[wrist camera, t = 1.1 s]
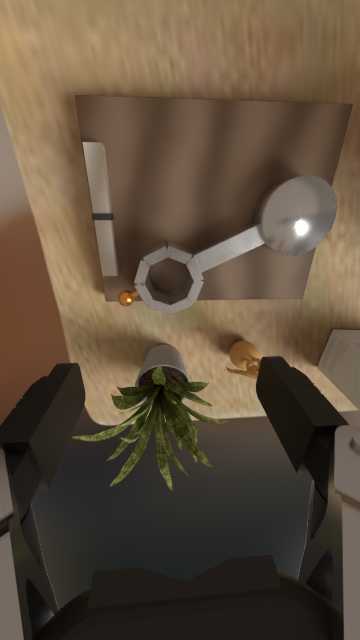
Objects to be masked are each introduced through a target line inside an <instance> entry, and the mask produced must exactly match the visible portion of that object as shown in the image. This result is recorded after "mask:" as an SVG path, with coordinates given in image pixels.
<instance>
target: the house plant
mask: <svg viewBox="0 0 360 640" xmlns="http://www.w3.org/2000/svg"><path fill="white" fill-rule="evenodd" d="M209 383H210V382H209ZM209 383H203V382H190V379H189V376H188V374H187V371H186V368H185V366H184V363H183V361H182V358H181V356H180V353H179V351H178V350H177V349H176V348H175V347H173V346H171V345H168V344H162V345H157V346H154V347H153V348H151V349H150V351H149V352H148V354H147V356H146V359H145V361H144V363H143V366H142V368H141V370H140V373H139V375H138V377H137V380H136V383H135V387H126V388H118V387H117V386H116V387H117V388H118V389H119V391H120V392H121V394H122V395H124V396H113V395H112V394H111V396H112V399H113V402H114V405H115V406H116V407H117V408H119V409H128V408H130V407H133V406H135V405H137V404H138V403H140V402H141V401H142V400H143V401H144V403H143V404H141V405H140V406H138V407H135V408H134V409H132V410H130V411H127V412H131V411H133V410H135V409H137V408H139V407H140V408H139V409H138V410H137V411H136V412H135V413H134V414H133V415H132V416H131V417H130V418H128V419H127V420H126V421H124V422H123V423H121V424H120V425H118V426H116V427H114V428H112V429H109V430H107V431H104V432H102V433H99V434H96V435H92V436H77V437H71V438H74V439H79V440H85V441H99V440H104V439H107V438H110V437H112V436H115V435H116V434H118V433H120V432H121V431H123V430H124V429H126V428H127V427H128V426H129V425H130V424H131V423H132V422H133V421H134V420H135V419H137V420H136V422H135V424H134V425H133V427H132V429H131V430H130V432H129V434H128V435H127V436H126V438H121V439H122V440H123V441H122V443H121V444H120V445H119V447H118V448H117V450H116V451H115V453H114V454H113V455H112V456H111V457H109V458H108V460H107V461H109V460H111V459H113V458H115V457H116V456H118V455H119V454H120V453H121V452H122V451H123V450H124V449H125V447H126V446H127V445H128V443H132V442H134V441H136V440H137V439H138V438H139V437H137V438H135V439H132V438H133V437H134V436H135V435H136V434H137V435H141V437H140V440H139V441H138V443H137V446H136V447H135V449H134V451H133V452H132V454H131V456H130V457H129V459H128V460H127V462H126V463H125V465H124V467H123V468H122V470H121V472H120V474H119V476H118V477H117V478H116V479H115V480H114V481H113V482H112V484H111V486H113V485H114V484H116V483H118V482H120V481H121V480H122V479H123V478H124V477H125V476H127V475H128V474H129V472H130V471H131V470H132V469H133V467H134V466H135V465H136V463H137V462H138V460H139V459H140V457H141V456H142V454H143V452H144V450H145V448H146V446H147V442H148V438H149V436H150V433H151V430H152V427H153V424H154V422H155V428H156V448H157V449H156V450H157V460H158V465H159V469H160V471H161V473H162V475H163V477H164V478H165V480H166V483H167V485H168V487H169V488H170V489H171V490H173V489H172V481H171V475H170V470H169V466H168V460H167V454H168V453H167V450H168V452H169V454H168V455H170V458H171V459H172V460H173V461H174V462H175V463H176V465H177V466H178V467H179V468H180V469H181V470H182V471H183V472H184V473H185V474H187V473H186V471H185V470H184V469H183V467H182V466H181V465H180V463H179V462H178V461H177V459H176V457H175V455H174V454H173V451H172V448H171V445H170V442H169V438H168V435H167V431H166V426H165V419H166V422H167V425H168V427H169V430H170V431H171V432H172V433H173V434H174V435H175V438H176V441H177V443H178V446H179V448H180V449H182V443H181V442H182V441H183V443H184V444H185V446H186V448H187V449H188V450H189V451H190V452H191V453H192V454H193V457H194V459H195V461H196V462H197V458H198V459H199V460H200V461H201V462H203V463H204V464H205V465H207V466H210V467H212V465H211V464H210V462H209V461H208V459H207V458H206V456H205V455H204V454H203V452H202V451H201V449H200V447H199V446H198V444H197V435H196V431H197V430H198V429H199V428H198V427H197V426H196V425H194V424H193V422H192V420H191V418H190V416H189V414H188V413H190V414H191V415H192V416H194V417H195V418H197V419H199V420H201V421H203V422H207V423H215V424H222V423H225V422H227V421H225V420H217V419H213V418H209V417H206V416H203V415H201V414H199V413H197V412H195V411H193V410H191V409H190V408H188V407H187V406H185V405H184V404H183V403H182V401H183V400H184V399H185V398H188V399H190V400H192V401H195V402H197V403H200V404H202V405H207V406H212V405H211V404H209V403H208V402H205V401H203V400H202V399H200V398H199V397H198V396H197V395H195V394H193V393H191V392H199V391H201V390H202V389H204V388H205V387H206V386H207V385H208V384H209ZM189 391H191V392H189ZM151 405H152V408H151V411H150V413H149V415H148V412H149V410H150V407H151ZM127 412H124V413H127ZM120 414H122V413H120ZM147 415H148V417H147ZM164 416H165V419H164ZM146 417H147V419H146ZM145 420H146V421H145ZM143 424H144V425H143ZM141 427H142V428H141ZM137 432H138V433H137ZM181 439H182V441H181ZM212 468H213V467H212ZM187 475H188V474H187ZM188 476H189V475H188Z"/></svg>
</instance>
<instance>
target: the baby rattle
mask: <svg viewBox="0 0 360 640" xmlns="http://www.w3.org/2000/svg"><path fill="white" fill-rule="evenodd" d="M336 211H337V201H336V196H335V193H334V191H333V189H332V187H331V186H330V184H329V183H328V182H326V181H325V180H324V179H322V178H320V177H317V176H313V175H306V176H300V177H296V178H293V179H289V180H285V181H281V182H279V183H277V184H275V185H273V186H272V187H271V188H269V189H268V190H267V191H266V192H265V193H264V195H263V196H262V197H261V199H260V200H259V202H258V204H257V206H256V209H255V212H254V218H253V224H252V225H250V226H248V227H246V228H244V229H242V230H240V231H238V232H235V233H233V234H231V235H229V236H227V237H225V238H223V239H221V240H219V241H217V242H215V243H213V244H211V245H208V246H206V247H204V248H202V249H200V250H198V251H196V252H194V253H192V252H191V251H190V250H189V249H188V248H185V247H183V246H180V245H177V244H175V243H172V242H169V241H168V243H166V241H165V242H163V243H161V244H159V245H157V246H155V247H153V248H151V249H149V250H147V251H146V252H145V253H144V255H143V256H142V258H141V261H140V264H139V268H138V271H137V274H136V278H135V281H134V283H135V288H136V289H137V290H135V291H133V292H131V291H129V290H123V291H121V292H120V293H119V294H118V301H119V303H120V304H121V305H123V306H129V305H131V304H132V303H133V302H134V297H136V296H138V295H140V296H141V298H142V300H143V302H144V303H145V305H146V306H147V305H149V306H148V308H151V309H154V310H158V311H161V312H164V313H167V314H170V312H172V314H174V313H176V312H178V311H181V310H183V309H185V308H187V307H190V306H192V305H193V303H192V302H194V303H195V302H196V299H197V297H198V295H199V292H200V290H201V288H202V285H203V283H204V282H203V279H204V278H203V276H202V274H201V273H202V272H204V271H206V270H208V269H211V268H213V267H215V266H217V265H219V264H221V263H223V262H226V261H228V260H230V259H232V258H234V257H236V256H239V255H241V254H243V253H245V252H247V251H249V250H251V249H254V248H256V247H258V246H260V245H263V246H264V247H266V248H268V249H270V250H273V251H276V252H278V253H281V254H284V255H300V254H303V253H306V252H308V251H310V250H312V249H313V248H315V247H316V246H317V245H319V244H320V243H321V242H322V241H323V240H324V238H325V237H326V236H327V234H328V233H329V231H330V229H331V228H332V225H333V223H334V220H335V217H336ZM167 257H168V258H171V259H174V260H176V261H179V262H182V263H185V264H186V265H187V267H188V269H189V272H190V273H189V276H188V278H187V281H186V283H185V286H184V287H182V288H180V289H178V290H175V291H173V292H171V293H169V292H166V291H162V290H159V289H156V288H155V287H154V285H153V283H152V281H151V280H150V278H149V276H148V271H149V268H150V266H151V265H153V264H155V263H157V262H159V261H161V260H163V259H165V258H167Z"/></svg>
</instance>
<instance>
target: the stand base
mask: <svg viewBox="0 0 360 640" xmlns="http://www.w3.org/2000/svg"><path fill="white" fill-rule="evenodd" d="M75 99H76V106H77V112H78V119H79V126H80V132H81V139H82V146H83V152H84V159H85V166H86V173H87V179H88V186H89V193H90V199H91V206H92V213H93V214H92V218H93V220H94V226H95V233H96V240H97V246H98V253H99V260H100V266H101V273H102V280H103V286H104V293H105V300H106V302H109V301H118V294H119V293H120V292H121V291H123V290H129V291H131V292H133V291H135V290H137V289H136V288H135V283H134V281H135V278H136V274H137V271H138V268H139V264H140V261H141V258H142V256H143V255H144V253H145V252H146V251H147V250H149V249H151V248H153V247H155V246H157V245H159V244H161V243H163V242H165V241H166V243H168V241H169V242H172V243H175V244H177V245H180V246H183V247H185V248H188V249H189V250H190V251H191V252H192V253H194V252H196V251H198V250H200V249H202V248H204V247H206V246H208V245H211V244H213V243H215V242H217V241H219V240H221V239H223V238H225V237H227V236H229V235H231V234H233V233H235V232H238V231H240V230H242V229H244V228H246V227H248V226H250V225H252V224H253V218H254V212H255V209H256V206H257V204H258V202H259V200H260V199H261V197H262V196H263V195H264V193H265V192H266V191H267V190H268V189H269V188H271V187H272V186H273V185H275V184H277V183H279V182H281V181H285V180H289V179H293V178H296V177H300V176H306V175H313V176H317V177H320V178H322V179H324V180H325V181H326V182H328V183H329V184H330V186H331V187H332V183H333V179H334V175H335V171H336V168H337V164H338V160H339V156H340V152H341V148H342V144H343V140H344V137H345V133H346V129H347V125H348V121H349V117H350V113H351V110H352V106H353V104H336V103H304V102H272V101H241V100H209V99H178V98H146V97H115V96H83V95H75ZM315 249H316V247H315V248H313V249H312V250H310V251H308V252H306V253H303V254H300V255H284V254H281V253H278V252H276V251H273V250H270V249H268V248H266V247H264V246H263V245H260V246H258V247H256V248H254V249H251V250H249V251H247V252H245V253H243V254H241V255H239V256H236V257H234V258H232V259H230V260H228V261H226V262H223V263H221V264H219V265H217V266H215V267H213V268H211V269H208V270H206V271H204V272H202V273H201V274H202V276H203V278H204V279H203V282H204V283H203V285H202V288H201V290H200V292H199V295H198V297H197V299H196V300H239V299H303V295H304V291H305V287H306V284H307V280H308V276H309V272H310V268H311V264H312V260H313V256H314V253H315ZM189 273H190V272H189V269H188V267H187V265H186V264H185V263H182V262H179V261H176V260H174V259H171V258H168V257H167V258H165V259H163V260H161V261H159V262H157V263H155V264H153V265H151V266H150V268H149V271H148V276H149V278H150V280H151V281H152V283H153V285H154V287H155V288H156V289H159V290H162V291H166V292H169V293H171V292H173V291H175V290H178V289H180V288H182V287H184V286H185V283H186V281H187V278H188V276H189ZM134 301H143V300H142V298H141V296H140V295H138V296H136V297H134Z"/></svg>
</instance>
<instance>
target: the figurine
mask: <svg viewBox="0 0 360 640" xmlns="http://www.w3.org/2000/svg"><path fill="white" fill-rule="evenodd" d="M230 359H231V361H232V363H233V364H234V365H235V366H236V367H238V368H241V369H247V370H246V371H243V370H232V369H229V368H227V367H226V368H227V370H228V371H229V372H231V373H235V374H241V375H245V376H248V377H251V378H254V379H257V377H258V372H259V367H260V362H261V360H260V359H258V351H257V349H256V347H255V346H254V345H253V344H252V343H250V342H248V341H239V342H237V343H235V344H234V345H233V346H232V347H231V349H230ZM256 362H258V366H256V365H255V364H256Z"/></svg>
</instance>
